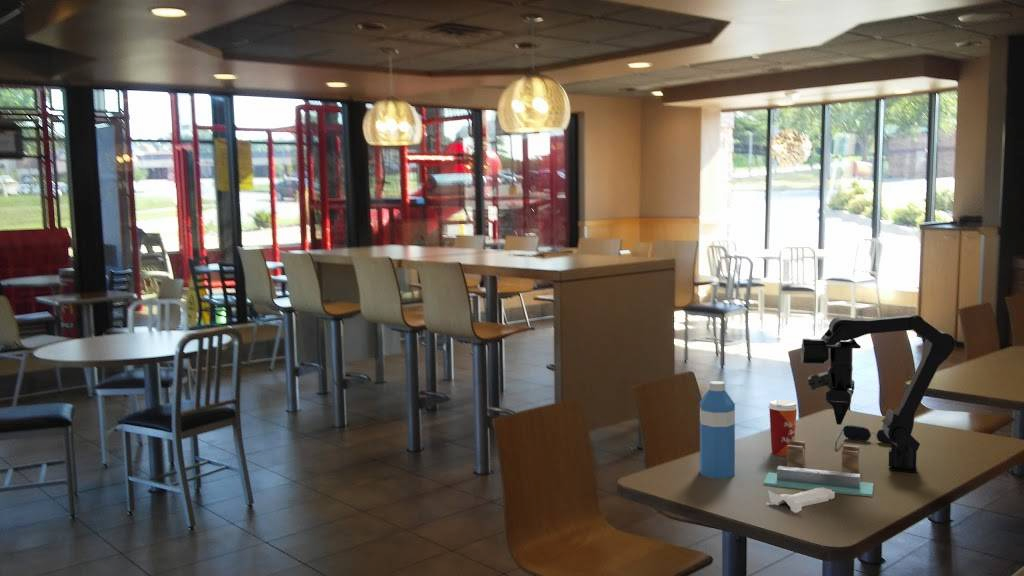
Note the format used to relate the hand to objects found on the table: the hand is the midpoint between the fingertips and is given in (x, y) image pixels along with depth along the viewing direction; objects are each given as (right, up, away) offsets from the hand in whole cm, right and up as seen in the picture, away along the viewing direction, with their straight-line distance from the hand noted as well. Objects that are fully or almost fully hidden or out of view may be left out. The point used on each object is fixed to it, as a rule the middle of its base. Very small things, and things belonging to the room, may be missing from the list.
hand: (840, 420), depth 237 cm
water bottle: (-34, -14, -2) cm, 37 cm away
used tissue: (-18, -17, -27) cm, 37 cm away
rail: (-11, -14, -13) cm, 22 cm away
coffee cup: (-11, -12, +15) cm, 22 cm away
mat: (-11, -15, -13) cm, 23 cm away
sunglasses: (+16, -12, +19) cm, 27 cm away
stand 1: (-11, -13, +2) cm, 17 cm away
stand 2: (+1, -13, -4) cm, 14 cm away
